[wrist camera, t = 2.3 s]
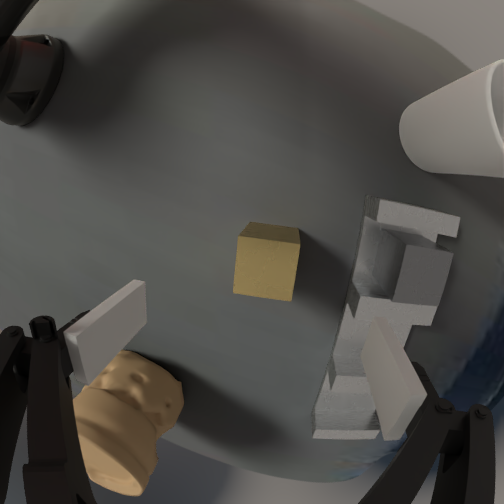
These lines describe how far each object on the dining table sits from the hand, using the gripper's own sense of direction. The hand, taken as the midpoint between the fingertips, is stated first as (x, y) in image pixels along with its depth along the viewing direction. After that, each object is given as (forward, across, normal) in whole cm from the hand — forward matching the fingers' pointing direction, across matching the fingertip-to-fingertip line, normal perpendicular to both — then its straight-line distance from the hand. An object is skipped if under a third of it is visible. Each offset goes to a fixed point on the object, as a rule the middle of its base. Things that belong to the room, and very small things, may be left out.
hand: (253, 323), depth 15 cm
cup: (+16, +16, +15) cm, 27 cm away
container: (+16, -15, -22) cm, 31 cm away
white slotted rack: (+16, +13, -8) cm, 22 cm away
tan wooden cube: (+16, 0, 0) cm, 16 cm away
